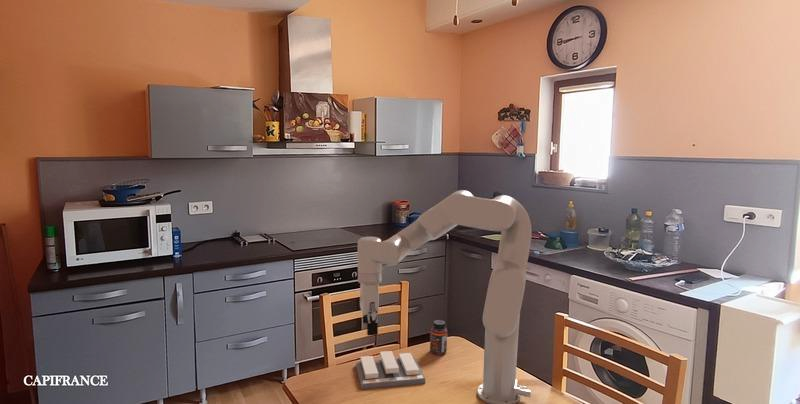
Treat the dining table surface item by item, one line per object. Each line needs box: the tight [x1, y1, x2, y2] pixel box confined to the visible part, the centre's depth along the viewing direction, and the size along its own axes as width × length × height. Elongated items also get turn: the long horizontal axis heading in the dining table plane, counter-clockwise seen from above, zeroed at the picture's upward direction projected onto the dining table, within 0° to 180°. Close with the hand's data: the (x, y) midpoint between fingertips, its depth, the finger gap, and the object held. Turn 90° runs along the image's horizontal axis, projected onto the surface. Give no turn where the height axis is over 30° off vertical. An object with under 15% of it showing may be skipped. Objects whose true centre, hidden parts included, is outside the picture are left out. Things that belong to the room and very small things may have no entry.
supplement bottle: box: [429, 319, 448, 356], centre depth 175 cm, size 6×6×11 cm
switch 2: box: [398, 352, 419, 375], centre depth 161 cm, size 4×12×2 cm, turn 12°
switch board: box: [355, 356, 426, 390], centre depth 159 cm, size 20×15×2 cm
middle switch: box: [379, 350, 399, 374], centre depth 160 cm, size 4×12×2 cm, turn 12°
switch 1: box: [360, 355, 378, 379], centre depth 159 cm, size 4×12×2 cm, turn 12°
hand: (370, 328), depth 157 cm, fingers open, 9 cm apart
